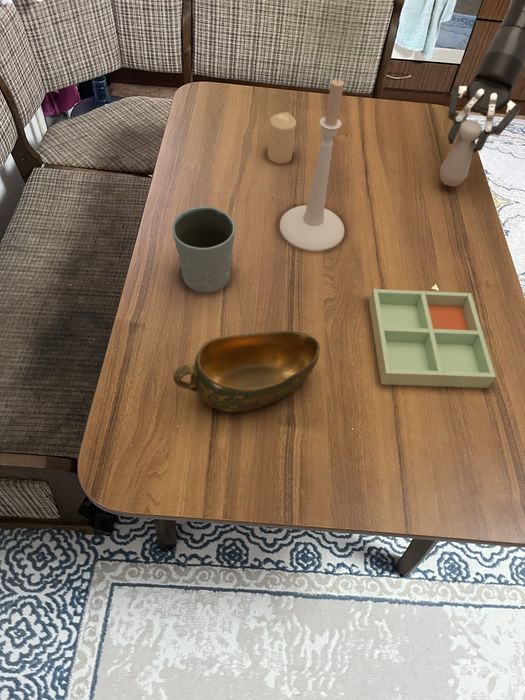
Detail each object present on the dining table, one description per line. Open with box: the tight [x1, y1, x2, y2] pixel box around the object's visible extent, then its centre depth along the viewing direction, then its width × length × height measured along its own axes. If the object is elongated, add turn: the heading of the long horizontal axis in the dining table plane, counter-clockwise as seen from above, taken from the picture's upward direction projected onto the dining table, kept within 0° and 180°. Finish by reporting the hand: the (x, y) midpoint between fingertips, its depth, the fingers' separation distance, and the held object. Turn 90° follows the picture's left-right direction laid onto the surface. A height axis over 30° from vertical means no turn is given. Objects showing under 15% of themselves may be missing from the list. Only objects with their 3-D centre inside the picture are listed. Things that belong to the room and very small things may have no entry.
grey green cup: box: [171, 205, 236, 294], centre depth 91 cm, size 10×10×12 cm
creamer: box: [173, 330, 321, 414], centre depth 79 cm, size 13×20×10 cm, turn 82°
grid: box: [368, 288, 497, 389], centre depth 89 cm, size 17×17×4 cm
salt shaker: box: [439, 119, 483, 187], centre depth 108 cm, size 6×6×13 cm
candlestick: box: [279, 78, 345, 252], centre depth 93 cm, size 13×13×30 cm
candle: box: [267, 111, 297, 164], centre depth 114 cm, size 6×6×10 cm
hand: (462, 147), depth 105 cm, fingers closed on salt shaker, 4 cm apart
